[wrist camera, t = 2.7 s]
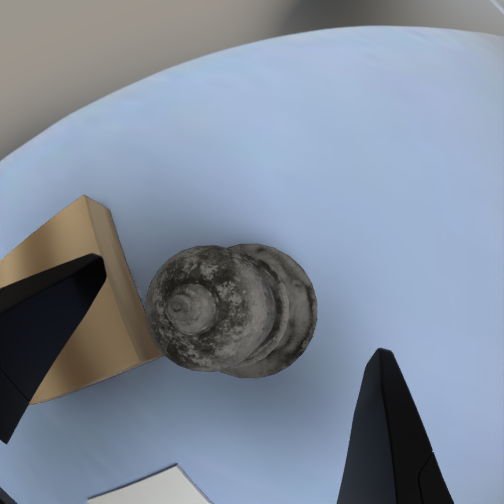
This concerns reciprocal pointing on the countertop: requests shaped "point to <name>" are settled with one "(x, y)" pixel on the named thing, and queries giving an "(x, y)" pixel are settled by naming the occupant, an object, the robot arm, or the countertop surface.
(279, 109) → the countertop surface
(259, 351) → the weathered stone finial
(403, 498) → the robot arm
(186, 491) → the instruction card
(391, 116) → the countertop surface
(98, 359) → the base brick
